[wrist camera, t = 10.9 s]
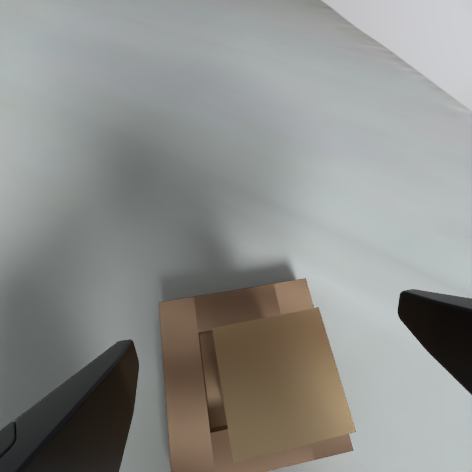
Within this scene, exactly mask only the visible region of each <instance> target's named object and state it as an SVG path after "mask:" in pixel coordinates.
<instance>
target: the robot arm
mask: <svg viewBox="0 0 472 472" xmlns="http://www.w3.org/2000/svg"><path fill="white" fill-rule="evenodd" d="M398 315H399V318H400V319H401V321H402V322H403V323H404V324H405V325H406V327H407V328H408V329H409V330H410V331H411V332H412V334H413V335H414V336H415V337H416V338H417V340H418V341H419V342H420V343H421V344H422V345H423V347H424V348H425V349H426V350H427V351H428V352H429V353H430V354H431V355H432V356H433V357H434V358H435V359H436V360H437V361H438V362H439V363H440V364H441V365H442V366H443V367H444V368H445V369H446V370H447V371H448V372H449V373H450V374H451V375H452V376H453V377H454V378H455V379H456V380H457V381H458V382H459V383H460V384H461V385H462V386H463V387H464V388H465V389H466V390H467V391H468V392H469V393H470V394H471V395H472V299H470V298H464V297H458V296H452V295H445V294H439V293H433V292H427V291H421V290H414V289H411V290H406V291H402V292H401V294H400V298H399V305H398ZM138 371H139V362H138V357H137V353H136V350H135V346H134V343H133V341H132V340H131V339H129V340H123V341H119V342H117V343H116V344H115V345H113V346H112V347H111V348H109V349H108V350H107V351H105V352H104V353H103V354H101V355H100V356H99V357H97V358H96V359H95V360H93V361H92V362H91V363H89V364H88V365H87V366H85V367H84V368H83V369H81V370H80V371H79V372H78V373H76V374H75V375H74V376H72V377H71V378H70V379H68V380H67V381H66V382H64V383H63V384H62V385H60V386H59V387H58V388H56V389H55V390H54V391H52V392H51V393H50V394H48V395H47V396H46V397H45V398H43V399H42V400H41V401H39V402H38V403H37V404H35V405H34V406H33V407H31V408H30V409H29V410H27V411H26V412H25V413H23V414H22V415H21V416H19V417H18V418H17V419H16V420H15V422H14V421H13V422H11V423H9V424H8V425H7V426H5V427H4V428H3V429H1V430H0V472H119V469H120V465H121V461H122V457H123V453H124V449H125V445H126V441H127V437H128V433H129V428H130V424H131V420H132V416H133V411H134V404H135V396H136V388H137V379H138Z"/></svg>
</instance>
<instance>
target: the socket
mask: <svg viewBox="0 0 472 472" xmlns="http://www.w3.org/2000/svg"><path fill="white" fill-rule="evenodd" d="M312 308H314V306H313V303H312V299H311V296H310V292H309V288H308V285H307V281H306V278H305V279H299V280H293V281H286V282H280V283H274V284H268V285H262V286H256V287H250V288H244V289H238V290H231V291H225V292H219V293H213V294H207V295H201V296H195V297H189V298H183V299H177V300H170V301H164V302H159V310H160V324H161V338H162V352H163V365H164V379H165V393H166V407H167V421H168V434H169V448H170V462H171V472H266V471H270V470H274V469H278V468H282V467H287V466H291V465H295V464H299V463H303V462H308V461H312V460H316V459H320V458H324V457H329V456H333V455H337V454H341V453H345V452H349V451H353V447H352V443H351V440H350V436H349V434H346V435H342V436H338V437H334V438H330V439H326V440H322V441H318V442H315V443H311V444H307V445H303V446H299V447H295V448H291V449H287V450H283V451H279V452H276V453H272V454H268V455H264V456H260V457H256V458H252V459H248V460H244V461H241V462H237V463H233V458H232V452H231V446H230V439H229V433H228V427H227V420H226V414H225V407H224V401H223V395H222V388H221V382H220V376H219V369H218V363H217V357H216V350H215V344H214V338H213V331H212V328H216V327H221V326H226V325H231V324H236V323H241V322H246V321H251V320H256V319H261V318H266V317H271V316H276V315H281V314H287V313H292V312H297V311H302V310H307V309H312Z"/></svg>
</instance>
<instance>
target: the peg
mask: <svg viewBox="0 0 472 472" xmlns="http://www.w3.org/2000/svg"><path fill="white" fill-rule="evenodd" d="M212 331H213V338H214V344H215V350H216V357H217V363H218V369H219V376H220V382H221V388H222V395H223V401H224V407H225V414H226V420H227V427H228V433H229V439H230V446H231V452H232V458H233V463H237V462H241V461H244V460H248V459H252V458H256V457H260V456H264V455H268V454H272V453H276V452H279V451H283V450H287V449H291V448H295V447H299V446H303V445H307V444H311V443H315V442H318V441H322V440H326V439H330V438H334V437H338V436H342V435H346V434H350V433H354V432H356V430H355V427H354V423H353V420H352V417H351V413H350V410H349V407H348V403H347V400H346V397H345V393H344V390H343V387H342V384H341V380H340V377H339V374H338V370H337V367H336V364H335V360H334V357H333V354H332V351H331V347H330V344H329V341H328V337H327V334H326V331H325V327H324V324H323V321H322V317H321V314H320V311H319V308H318V307H317V308H312V309H307V310H302V311H297V312H292V313H287V314H281V315H276V316H271V317H266V318H261V319H256V320H251V321H246V322H241V323H236V324H231V325H226V326H221V327H216V328H212Z"/></svg>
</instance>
